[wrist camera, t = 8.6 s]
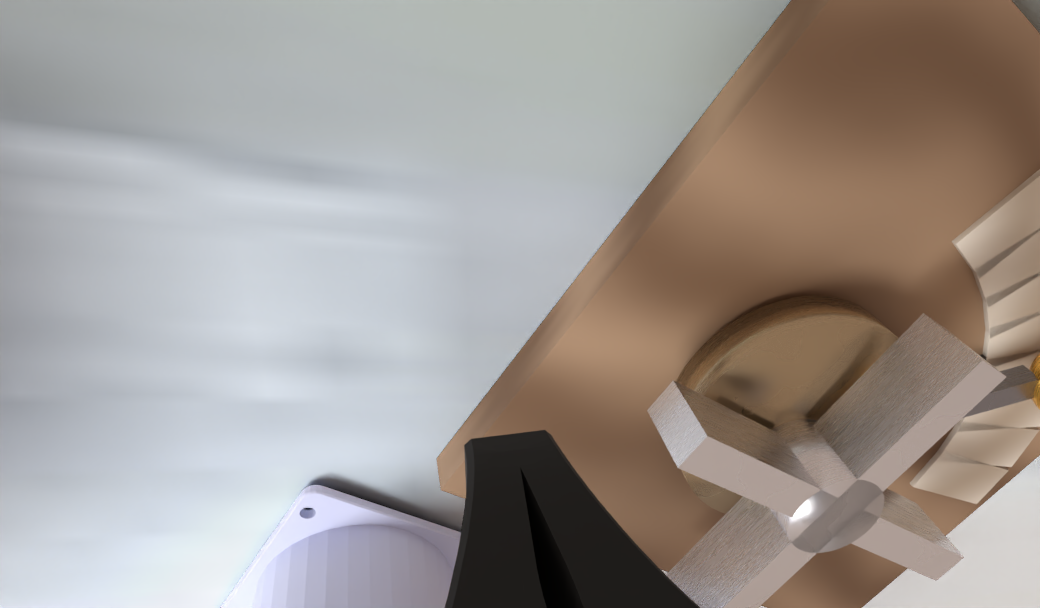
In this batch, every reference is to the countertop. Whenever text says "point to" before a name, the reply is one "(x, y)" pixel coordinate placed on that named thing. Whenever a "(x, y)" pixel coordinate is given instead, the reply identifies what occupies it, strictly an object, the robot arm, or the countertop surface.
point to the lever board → (808, 259)
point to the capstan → (817, 440)
